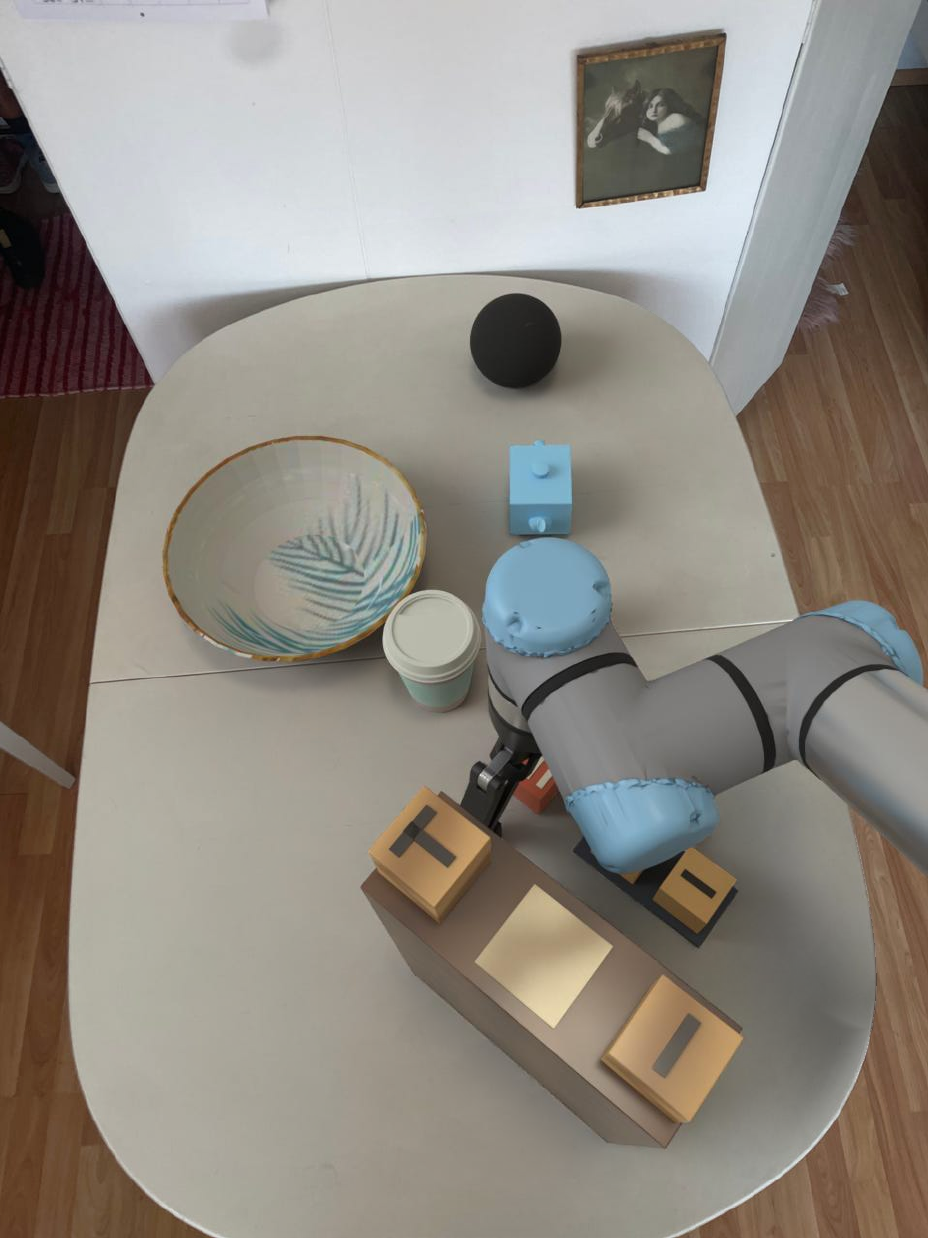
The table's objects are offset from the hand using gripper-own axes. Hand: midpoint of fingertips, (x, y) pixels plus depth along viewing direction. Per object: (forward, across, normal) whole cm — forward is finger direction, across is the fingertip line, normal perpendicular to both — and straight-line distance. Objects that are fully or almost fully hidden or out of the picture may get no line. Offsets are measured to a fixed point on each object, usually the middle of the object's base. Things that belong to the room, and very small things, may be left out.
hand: (533, 780), depth 89 cm
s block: (0, 0, 0) cm, 0 cm away
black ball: (+1, -37, -31) cm, 48 cm away
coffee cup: (0, -2, -13) cm, 13 cm away
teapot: (0, -23, -17) cm, 29 cm away
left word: (0, 0, +13) cm, 13 cm away
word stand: (0, +16, +12) cm, 20 cm away
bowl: (0, -3, -30) cm, 31 cm away
